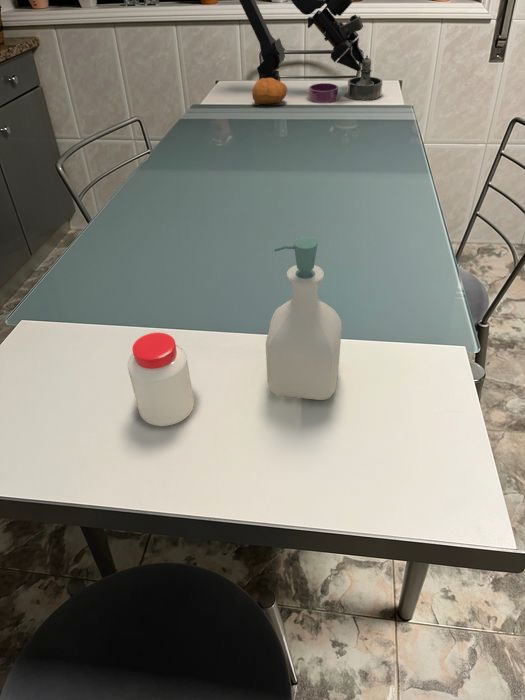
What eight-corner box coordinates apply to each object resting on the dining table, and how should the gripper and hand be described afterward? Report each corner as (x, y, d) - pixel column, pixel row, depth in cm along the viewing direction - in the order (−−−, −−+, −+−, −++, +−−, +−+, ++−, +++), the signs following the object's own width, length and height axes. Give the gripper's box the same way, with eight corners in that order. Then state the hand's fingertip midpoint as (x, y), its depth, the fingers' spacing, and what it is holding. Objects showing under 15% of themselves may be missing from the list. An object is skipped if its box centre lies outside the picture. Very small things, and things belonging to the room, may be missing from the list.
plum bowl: (304, 101, 183) (304, 90, 181) (314, 93, 190) (314, 82, 188) (332, 103, 180) (332, 92, 178) (341, 95, 187) (342, 84, 185)
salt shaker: (353, 92, 188) (356, 53, 180) (370, 91, 188) (373, 52, 180) (357, 97, 183) (360, 57, 176) (374, 96, 184) (378, 56, 176)
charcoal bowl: (342, 98, 184) (343, 84, 181) (352, 89, 192) (353, 75, 189) (375, 101, 180) (377, 87, 177) (384, 92, 188) (386, 77, 185)
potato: (256, 98, 188) (255, 74, 183) (289, 99, 186) (289, 75, 181) (250, 107, 181) (249, 82, 176) (284, 107, 179) (284, 83, 174)
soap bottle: (276, 356, 85) (273, 220, 70) (339, 362, 83) (349, 224, 69) (265, 400, 78) (258, 259, 63) (333, 407, 76) (342, 264, 62)
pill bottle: (198, 387, 80) (189, 327, 73) (188, 427, 74) (176, 366, 67) (146, 385, 81) (132, 326, 74) (132, 424, 75) (115, 364, 68)
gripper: (342, 12, 164) (376, 54, 169) (353, 1, 178) (385, 41, 182) (316, 41, 172) (349, 81, 176) (329, 29, 185) (359, 66, 189)
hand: (361, 66), depth 181 cm, fingers open, 9 cm apart
